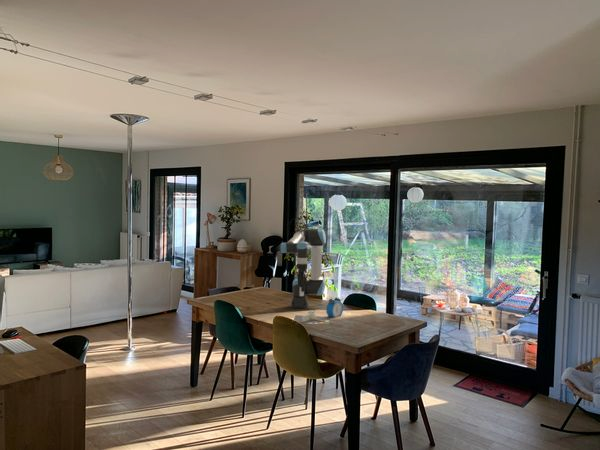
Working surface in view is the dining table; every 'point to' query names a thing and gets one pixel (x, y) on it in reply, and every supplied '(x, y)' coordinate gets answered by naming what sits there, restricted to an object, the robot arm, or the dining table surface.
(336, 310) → the alarm clock
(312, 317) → the dial
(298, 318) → the tuner board
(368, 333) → the dining table surface
